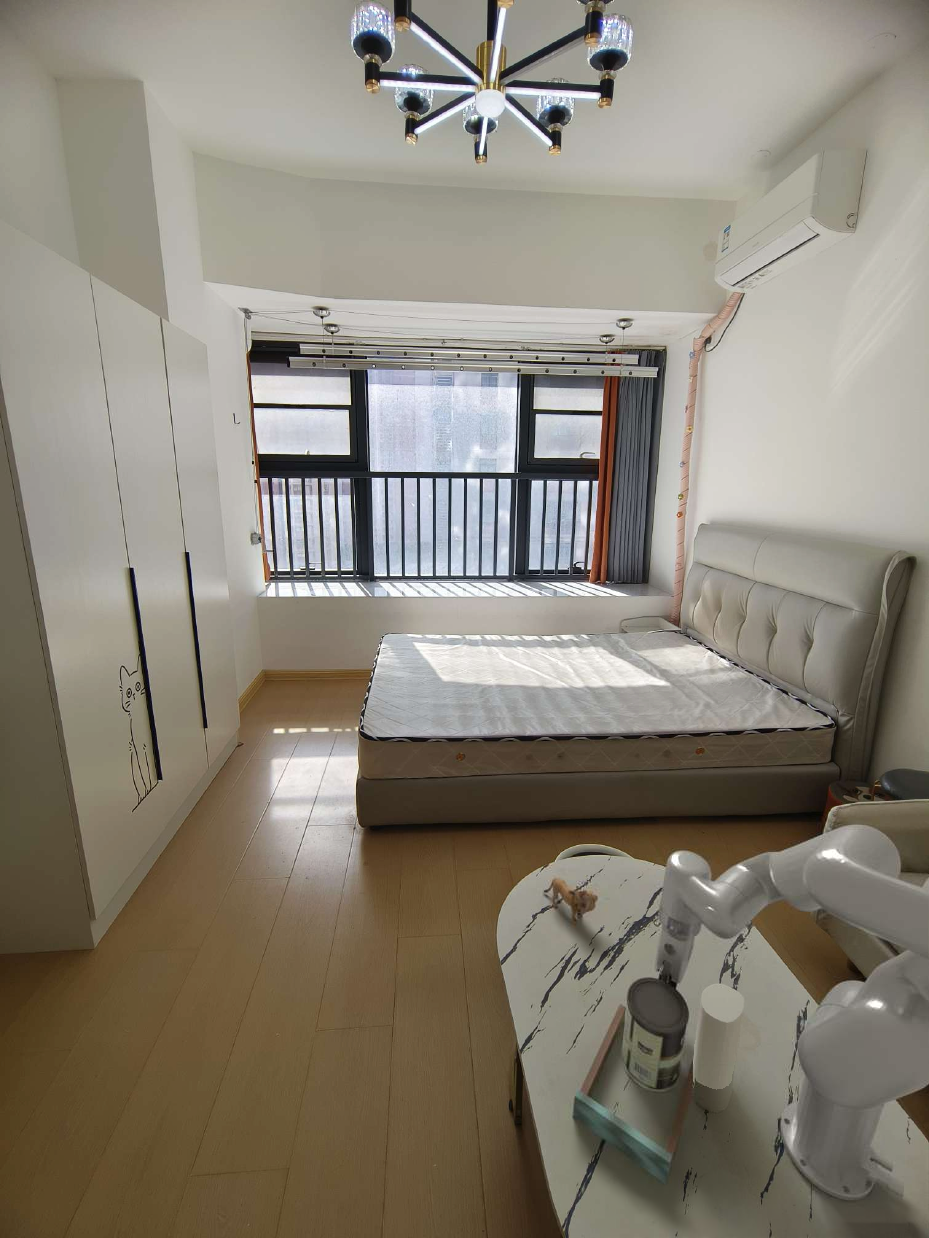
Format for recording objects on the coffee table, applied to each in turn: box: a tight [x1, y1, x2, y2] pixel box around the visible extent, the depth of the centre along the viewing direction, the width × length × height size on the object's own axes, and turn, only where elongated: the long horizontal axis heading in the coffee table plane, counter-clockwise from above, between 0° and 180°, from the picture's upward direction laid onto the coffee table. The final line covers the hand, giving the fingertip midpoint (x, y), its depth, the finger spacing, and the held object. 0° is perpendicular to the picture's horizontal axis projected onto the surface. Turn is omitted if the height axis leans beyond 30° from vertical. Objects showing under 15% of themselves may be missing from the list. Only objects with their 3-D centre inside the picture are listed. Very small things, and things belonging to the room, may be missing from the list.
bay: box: [572, 1003, 694, 1185], centre depth 95 cm, size 15×21×5 cm
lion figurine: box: [543, 877, 599, 925], centre depth 132 cm, size 15×5×9 cm, turn 45°
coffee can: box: [620, 976, 690, 1093], centre depth 98 cm, size 10×10×14 cm
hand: (666, 987), depth 107 cm, fingers closed
